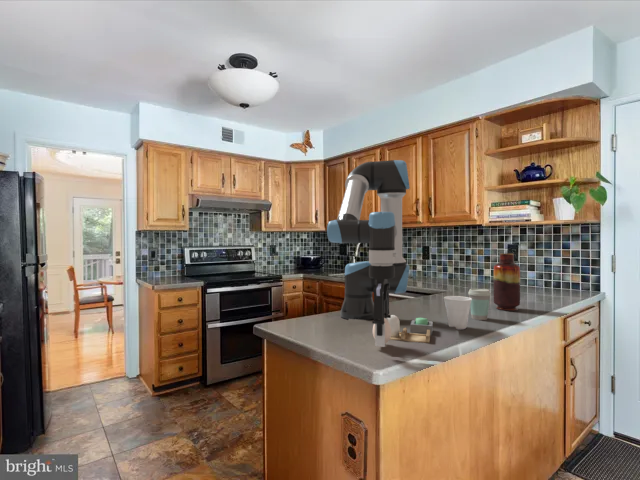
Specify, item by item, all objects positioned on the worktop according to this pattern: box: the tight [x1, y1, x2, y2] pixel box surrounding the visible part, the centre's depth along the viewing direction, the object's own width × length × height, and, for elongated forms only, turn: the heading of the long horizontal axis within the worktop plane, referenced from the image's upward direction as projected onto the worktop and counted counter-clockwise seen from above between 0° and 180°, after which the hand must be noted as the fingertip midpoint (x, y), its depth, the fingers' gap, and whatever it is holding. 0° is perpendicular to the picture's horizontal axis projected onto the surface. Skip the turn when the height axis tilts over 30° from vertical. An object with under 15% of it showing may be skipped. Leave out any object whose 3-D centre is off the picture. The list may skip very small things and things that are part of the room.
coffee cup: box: [467, 288, 491, 321], centre depth 147 cm, size 8×9×12 cm
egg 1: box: [372, 318, 391, 344], centre depth 105 cm, size 6×6×8 cm
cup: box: [443, 295, 472, 330], centre depth 132 cm, size 10×10×11 cm
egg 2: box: [387, 314, 401, 338], centre depth 117 cm, size 5×5×7 cm
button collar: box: [409, 319, 434, 336], centre depth 122 cm, size 7×7×4 cm
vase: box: [493, 253, 521, 312], centre depth 167 cm, size 11×11×26 cm
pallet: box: [389, 327, 431, 344], centre depth 115 cm, size 16×8×3 cm, turn 71°
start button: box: [415, 317, 429, 325], centre depth 122 cm, size 4×4×4 cm
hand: (381, 342), depth 105 cm, fingers closed on egg 1, 5 cm apart
